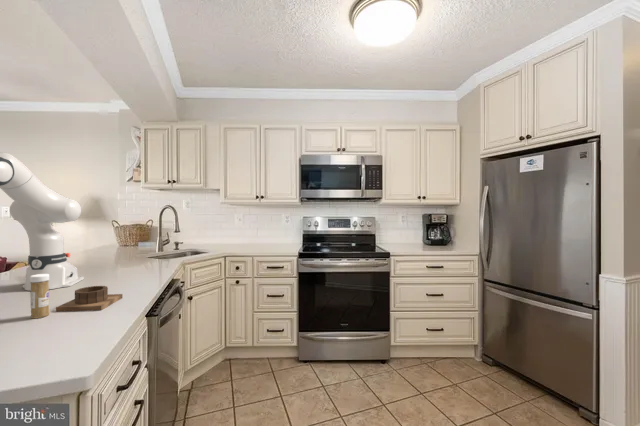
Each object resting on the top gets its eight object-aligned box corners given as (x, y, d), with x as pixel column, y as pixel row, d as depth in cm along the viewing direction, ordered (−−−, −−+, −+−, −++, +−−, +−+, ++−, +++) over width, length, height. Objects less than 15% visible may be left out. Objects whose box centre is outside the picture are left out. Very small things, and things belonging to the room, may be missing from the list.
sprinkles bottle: (48, 317, 96) (47, 275, 96) (28, 320, 94) (28, 277, 93) (50, 312, 100) (50, 272, 100) (32, 315, 97) (31, 274, 97)
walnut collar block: (83, 298, 115) (82, 284, 115) (122, 297, 117) (122, 283, 117) (56, 311, 101) (55, 295, 101) (101, 310, 103) (101, 294, 103)
